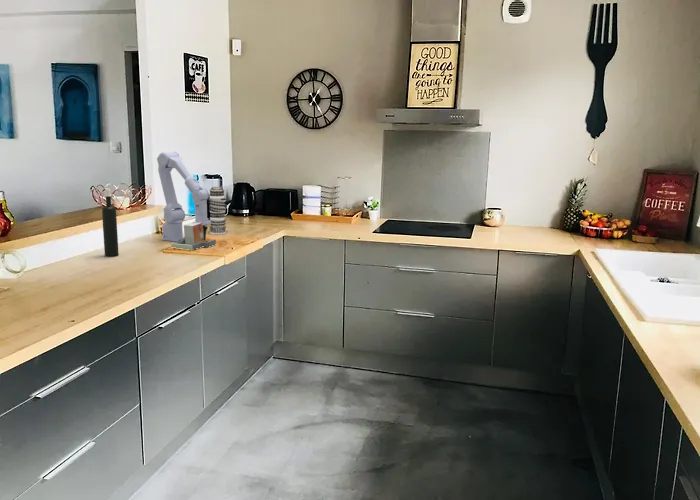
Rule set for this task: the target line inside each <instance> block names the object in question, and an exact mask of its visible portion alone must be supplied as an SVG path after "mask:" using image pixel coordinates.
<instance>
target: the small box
mask: <svg viewBox="0 0 700 500" xmlns="http://www.w3.org/2000/svg"><path fill="white" fill-rule="evenodd" d="M202 224H203V223H197V222H195V221H193V222H190V223H186V224H183V232H184V234H183V235H184V238H185V244H186V245H193V244H196V243H199V242H205V241H204V231H203V225H202Z"/></svg>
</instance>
